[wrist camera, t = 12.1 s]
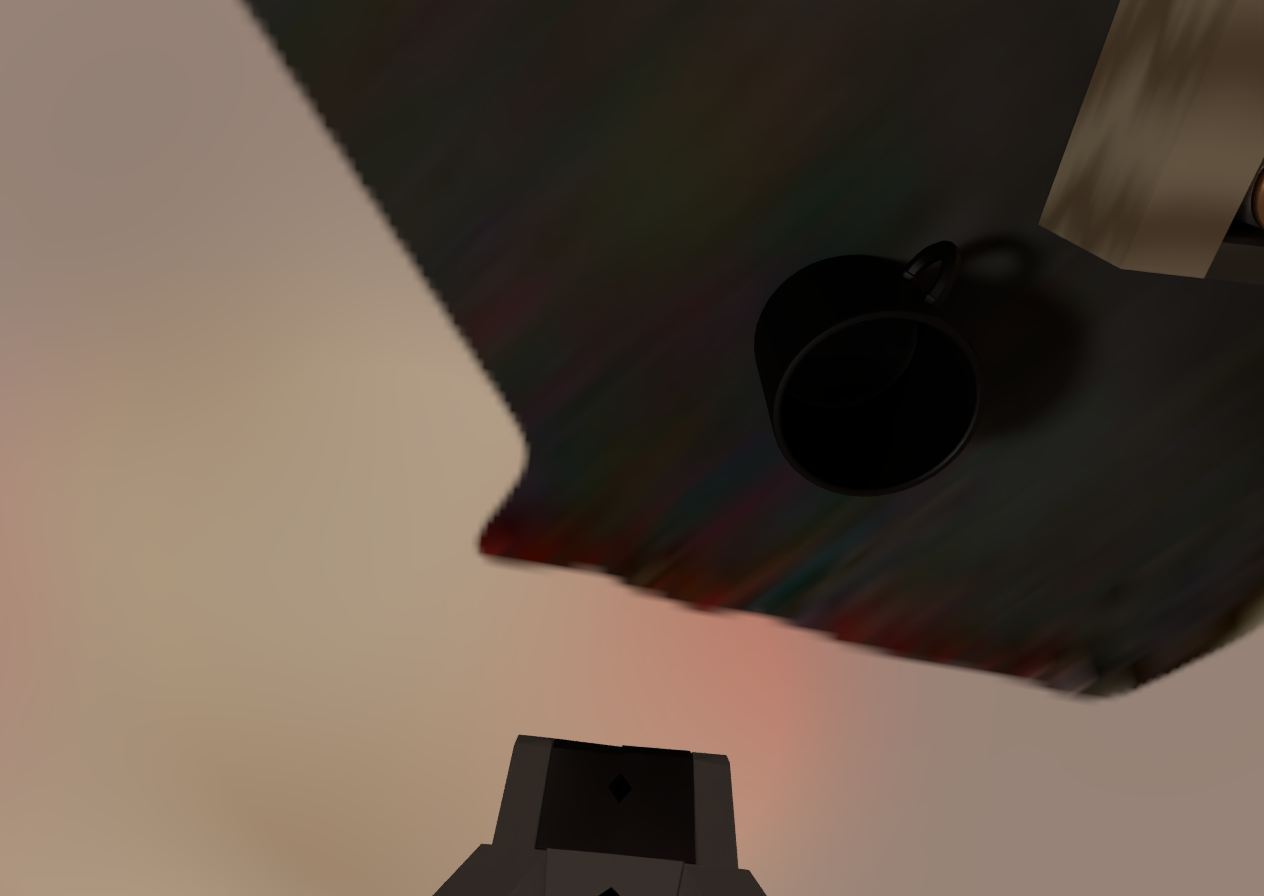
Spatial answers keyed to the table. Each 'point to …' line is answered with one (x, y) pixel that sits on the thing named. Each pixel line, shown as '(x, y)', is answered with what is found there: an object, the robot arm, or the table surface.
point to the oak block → (1169, 142)
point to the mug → (868, 373)
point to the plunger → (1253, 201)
